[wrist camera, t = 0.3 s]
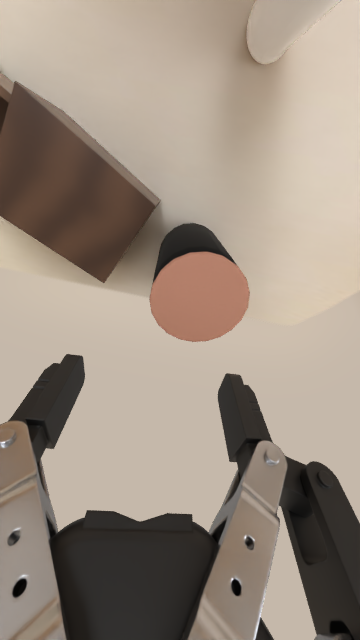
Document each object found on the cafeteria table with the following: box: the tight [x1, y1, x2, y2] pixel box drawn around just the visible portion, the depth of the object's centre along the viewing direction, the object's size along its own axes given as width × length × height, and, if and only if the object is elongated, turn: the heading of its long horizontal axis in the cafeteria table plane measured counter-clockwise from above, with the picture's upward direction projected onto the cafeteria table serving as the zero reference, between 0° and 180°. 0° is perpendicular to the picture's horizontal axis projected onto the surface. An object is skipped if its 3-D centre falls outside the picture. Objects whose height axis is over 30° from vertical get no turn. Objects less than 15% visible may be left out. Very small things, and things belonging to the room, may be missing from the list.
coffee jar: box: [150, 223, 250, 342], centre depth 30 cm, size 11×11×18 cm
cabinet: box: [0, 81, 160, 283], centre depth 28 cm, size 16×13×10 cm
